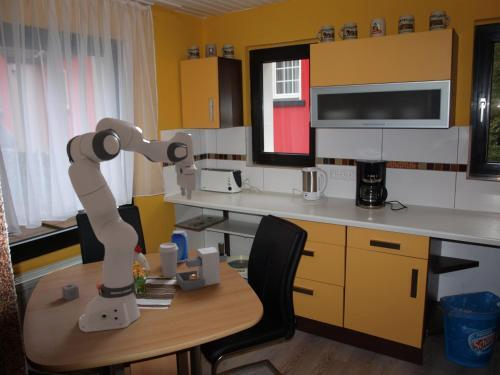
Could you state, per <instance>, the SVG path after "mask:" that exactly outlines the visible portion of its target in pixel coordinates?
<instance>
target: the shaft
mask: <svg viewBox="0 0 500 375" xmlns="http://www.w3.org/2000/svg"><path fill="white" fill-rule="evenodd" d="M225 246H226V245H225V242H221V241H220V242H218V243H217V250H218V251H219V261H220V263H225V262H227V261H228V260H227V259H228V258H227V257H228V256H227V254H226V253H225V252H226V251H225V249H226V248H225ZM185 266H186V267H187V268H196V267H198V266H202V259H201V258H200V257H198V256H194V257H188V258H187V259H186V261H185Z"/></svg>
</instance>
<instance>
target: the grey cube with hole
mask: <svg viewBox="0 0 500 375" xmlns="http://www.w3.org/2000/svg"><path fill="white" fill-rule="evenodd" d="M61 292H62V299H65V301H67V302H68V301H71V300H75V299H77V298H80V292H79V286H78V285H77V284H75V283H73V282H72V283H69V284H66V285H64V286H63V285H62V286H61Z"/></svg>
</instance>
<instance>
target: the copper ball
mask: <svg viewBox="0 0 500 375" xmlns="http://www.w3.org/2000/svg"><path fill="white" fill-rule="evenodd" d="M197 277H198V275H197V276H196V275H195V274H192V275H190V276H189V281H195V280H197Z"/></svg>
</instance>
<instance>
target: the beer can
mask: <svg viewBox="0 0 500 375" xmlns="http://www.w3.org/2000/svg"><path fill="white" fill-rule="evenodd" d="M170 239H171V243H175V244H176V245H177V247H178V250H177V263H180V264H181V263H184V262H185V263H186V259H187V258H189V248H188V247H189V245H188V234H187V233H186V230H184V229H176V230H175V229H174V230H173V231H172V234H171V238H170Z"/></svg>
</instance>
